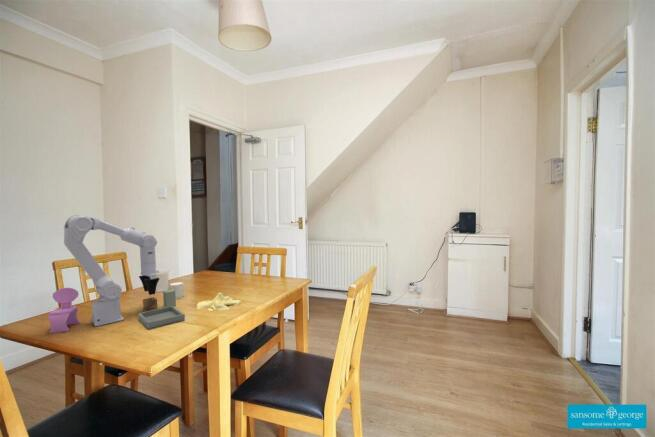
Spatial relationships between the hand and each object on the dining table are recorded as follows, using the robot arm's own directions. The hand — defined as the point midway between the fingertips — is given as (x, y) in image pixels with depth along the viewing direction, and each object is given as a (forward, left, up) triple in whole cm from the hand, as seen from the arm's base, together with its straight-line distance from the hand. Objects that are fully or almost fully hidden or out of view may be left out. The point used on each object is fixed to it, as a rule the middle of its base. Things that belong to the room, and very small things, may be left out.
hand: (149, 292), depth 139 cm
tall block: (+8, 0, -8) cm, 11 cm away
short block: (0, 0, -8) cm, 8 cm away
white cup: (+13, +32, -8) cm, 35 cm away
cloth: (+25, -16, -9) cm, 31 cm away
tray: (0, -17, -8) cm, 18 cm away
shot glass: (+15, +12, -8) cm, 21 cm away
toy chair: (-29, +1, -8) cm, 30 cm away
